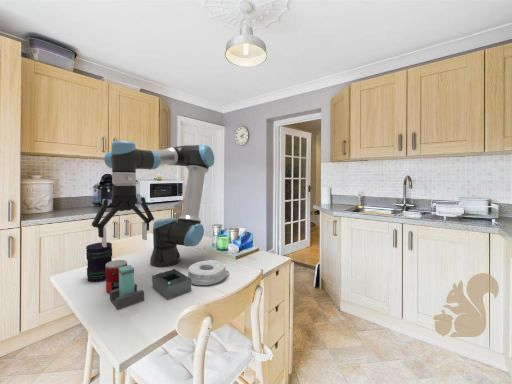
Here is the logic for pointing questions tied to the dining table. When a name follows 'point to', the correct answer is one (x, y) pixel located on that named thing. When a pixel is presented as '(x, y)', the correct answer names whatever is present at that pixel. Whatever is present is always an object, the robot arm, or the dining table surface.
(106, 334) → the dining table surface
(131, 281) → the plug
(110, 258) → the storage jar
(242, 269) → the dining table surface
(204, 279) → the cable
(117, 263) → the canned food
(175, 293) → the grey socket block
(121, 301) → the grey slotted cradle
